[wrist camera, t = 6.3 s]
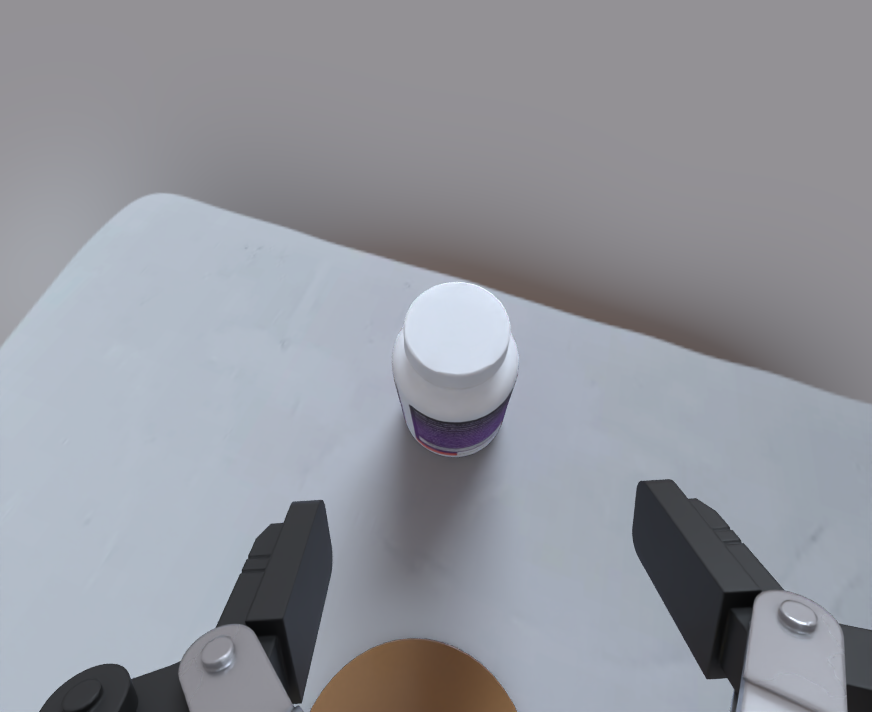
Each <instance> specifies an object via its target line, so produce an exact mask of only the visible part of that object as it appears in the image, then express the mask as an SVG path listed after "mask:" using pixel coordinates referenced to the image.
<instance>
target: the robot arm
mask: <svg viewBox="0 0 872 712" xmlns="http://www.w3.org/2000/svg"><path fill="white" fill-rule="evenodd" d="M632 536H633V543H634V547H635V550H636V553H637V555H638V557H639V559H640V561H641V563H642V565H643V566H644V568H645V570H646V572H647V573H648V575H649V577H650V579H651V581H652V582H653V584H654V586H655V588H656V590H657V591H658V593H659V595H660V597H661V598H662V600H663V602H664V604H665V606H666V607H667V609H668V611H669V613H670V615H671V616H672V618H673V620H674V622H675V624H676V625H677V627H678V629H679V631H680V632H681V634H682V636H683V638H684V640H685V641H686V643H687V645H688V647H689V649H690V650H691V652H692V654H693V656H694V657H695V659H696V661H697V663H698V665H699V666H700V668H701V670H702V672H703V674H704V675H705V677H706V679H721V678H728V680H729V681H730V683H731V685H732V686H733V688H734V692H733V696H732V701H731V708H730V712H872V630H868V629H863V628H858V627H853V626H848V625H843V624H839V623H838V622H837V620H836V619H835V618H834V617H833V616H832V615H831V614H830V613H829V612H828V611H827V610H825V609H824V608H823V607H821V606H820V605H819V604H817V603H815V602H814V601H812V600H810V599H808V598H806V597H804V596H801V595H799V594H796V593H793V592H789V591H785V590H784V589H783V588H782V587H781V586H780V585H779V584H778V582H777V581H776V580H775V579H774V578H773V577H772V575H771V574H770V573H769V572H768V571H767V570H766V568H765V567H764V566H763V565H762V564H761V563H760V562H759V560H758V559H757V558H756V557H755V556H754V555H753V553H752V552H751V551H750V550H749V549H748V548H747V546H746V545H745V544H744V543H741V540H740V538H739V537H738V536H737V535H736V534H735V533H734V531H733V530H730V527H729V526H728V525H727V523H726V522H725V521H724V520H723V519H722V518H721V516H720V515H719V514H718V513H717V512H716V511H715V510H713V509H712V508H710V507H709V506H707V505H706V504H704V503H703V502H701V501H699V500H698V499H696V498H694V499H688V498H687V497H686V496H685V494H684V493H683V492H682V491H681V489H680V488H679V487H678V486H677V485H676V483H675V482H674V481H673V480H670V479H666V480H650V481H640V482H639V483H638V485H637V490H636V500H635V509H634V519H633V528H632ZM331 572H332V545H331V539H330V533H329V527H328V521H327V515H326V509H325V504H324V501H323V500H313V501H297V502H292V504H291V505H290V508H289V510H288V513H287V515H286V518H285V521H284V523H276V524H270V525H269V526H268V527H267V528H266V529H265V530H264V531H263V532H262V533H261V534H260V535H259V536H258V537H257V538H256V540H255V542H254V544H253V547H252V549H251V551H250V553H249V555H248V559H247V560H246V562H245V564H244V567H243V569H242V574H240V575H239V578H238V580H237V582H236V584H235V586H234V589H233V591H232V593H231V595H230V597H229V600H228V602H227V604H226V606H225V608H224V611H223V613H222V615H221V617H220V619H219V622H218V624H217V626H216V628H215V629H213V630H211V631H209V632H207V633H205V634H204V635H202V636H201V637H200V638H198V639H197V640H196V641H195V642H194V643H193V644H192V645H191V646H190V647H189V648H188V650H187V651H186V653H185V654H184V656H183V658H182V660H181V661H180V662H178V663H176V664H173V665H171V666H168V667H165V668H162V669H159V670H157V671H154V672H151V673H148V674H145V675H142V676H139V677H136V678H133V679H131V678H130V675H129V673H128V671H127V670H126V669H125V668H124V667H123V666H120V665H118V664H103V665H98V666H95V667H92V668H89V669H87V670H85V671H83V672H81V673H79V674H77V675H75V676H74V677H72V678H71V679H69V680H68V681H67V682H65V683H64V684H63V685H62V686H60V687H59V688H58V689H57V690H56V691H55V692H54V693H53V694H52V695H51V696H50V697H49V699H48V700H47V701H46V703H45V704H44V705H43V707H42V708H41V710H40V711H39V712H304V711H303V710H302V709H301V707H300V706H296V707H294V706H293V704H299V703H302V700H303V696H304V691H305V687H306V682H307V678H308V674H309V669H310V665H311V661H312V656H313V652H314V647H315V643H316V639H317V634H318V630H319V625H320V621H321V617H322V612H323V608H324V603H325V599H326V595H327V590H328V586H329V581H330V577H331Z"/></svg>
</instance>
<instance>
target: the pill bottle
mask: <svg viewBox="0 0 872 712" xmlns="http://www.w3.org/2000/svg"><path fill="white" fill-rule="evenodd" d="M518 367H519V356H518V349H517V346H516V343H515V340H514V338H513V336H512V334H511V326H510V320H509V317H508V314H507V312H506V310H505V308H504V306H503V305H502V303H501V302H500V301H499V300H498V299H497V298H496V297H495V296H494V295H493V294H492V293H490V292H489V291H487V290H485V289H484V288H481V287H479V286H477V285H473V284H470V283H464V282H450V283H444V284H440V285H437V286H434V287H432V288H430V289H428V290H426V291H425V292H423V293H422V294H421V295H419V296H418V297H417V298H416V299H415V300H414V301H413V303H412V304H411V306H410V308H409V309H408V311H407V314H406V317H405V320H404V327H403V328H402V330H401V331H400V333H399V335H398V337H397V339H396V341H395V344H394V347H393V352H392V370H393V376H394V381H395V385H396V389H397V392H398V396H399V399H400V403H401V406H402V410H403V414H404V418H405V421H406V423H407V426H408V428H409V430H410V432H411V434H412V435H413V437H414V438H415V439H416V440H417V441H418V442H419V443H420V444H421V445H422V446H423V447H425V448H426V449H428V450H429V451H431V452H433V453H436V454H438V455H442V456H446V457H463V456H467V455H470V454H473V453H475V452H477V451H479V450H481V449H483V448H484V447H485V446H487V445H488V444H489V443H490V442H491V441H492V440H493V438H494V437H495V435H496V434H497V432H498V430H499V429H500V427H501V424H502V421H503V418H504V415H505V412H506V408H507V405H508V402H509V399H510V396H511V393H512V391H513V388H514V385H515V382H516V379H517V376H518Z"/></svg>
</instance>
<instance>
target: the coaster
mask: <svg viewBox="0 0 872 712" xmlns="http://www.w3.org/2000/svg"><path fill="white" fill-rule="evenodd" d="M310 712H517V710H516V708H515V706H514V704H513V702H512V701H511V699H510V698H509V696H508V694H507V693H506V691H505V690H504V688H503V687H502V686H501V684H500V683H499V682H498V681H497V679H496V678H495V677H494V676H493V675H492V674H491V673H490V672H489V671H488V670H487V669H486V668H485V667H484V666H483V665H482V664H481V663H480V662H478V661H477V660H476V659H474V658H473V657H472V656H470V655H469V654H467V653H465V652H463V651H462V650H460V649H458V648H456V647H454V646H451V645H448V644H446V643H443V642H439V641H435V640H430V639H420V638H409V639H399V640H394V641H390V642H386V643H383V644H381V645H378V646H376V647H373V648H371V649H369V650H367V651H366V652H364V653H362V654H360V655H359V656H357V657H356V658H355V659H353V660H352V661H351V662H349V663H348V664H347V665H345V666H344V667H343V668H342V669H341V670H340V671H339V672H338V673H337V674H336V675H335V676H334V677H333V678H332V679H331V681H330V682H329V683H328V684H327V686H326V687H325V688H324V689H323V691H322V692H321V694H320V695H319V697H318V699H317V700H316V702H315V703H314V705H313V707H312V709H311V711H310Z"/></svg>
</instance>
